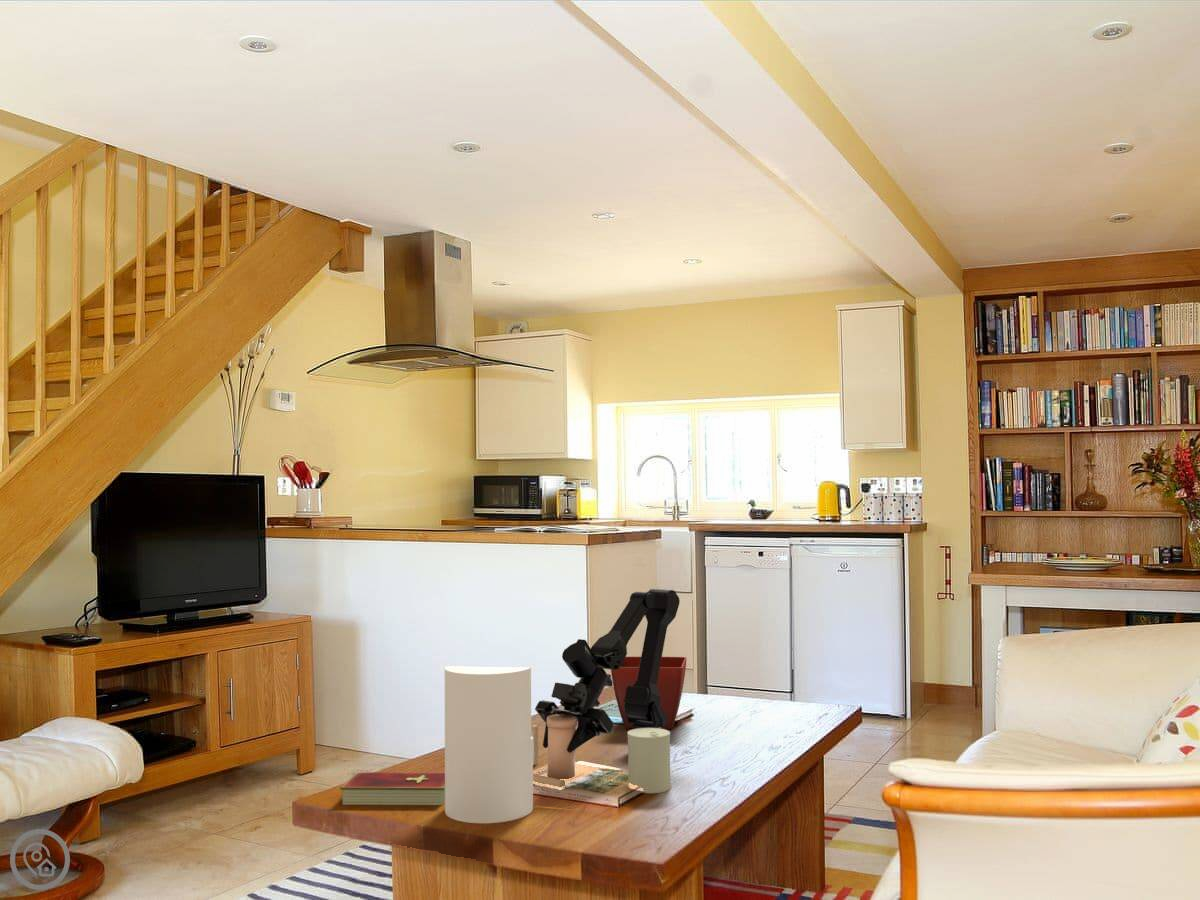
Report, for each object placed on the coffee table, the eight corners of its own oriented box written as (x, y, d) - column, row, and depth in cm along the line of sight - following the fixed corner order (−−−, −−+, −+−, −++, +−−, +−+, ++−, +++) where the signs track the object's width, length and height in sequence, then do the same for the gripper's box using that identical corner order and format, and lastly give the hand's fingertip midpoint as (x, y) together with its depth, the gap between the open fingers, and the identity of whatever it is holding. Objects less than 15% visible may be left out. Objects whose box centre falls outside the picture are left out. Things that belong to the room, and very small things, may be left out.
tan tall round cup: (580, 774, 229) (580, 715, 229) (570, 783, 223) (571, 722, 223) (551, 772, 231) (552, 713, 231) (541, 780, 225) (542, 720, 225)
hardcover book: (356, 790, 222) (356, 770, 222) (454, 791, 221) (454, 770, 221) (340, 807, 210) (340, 786, 210) (443, 808, 209) (443, 786, 209)
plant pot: (619, 716, 292) (618, 655, 292) (687, 717, 289) (686, 656, 290) (610, 731, 273) (609, 666, 273) (683, 733, 270) (682, 667, 271)
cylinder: (521, 825, 196) (520, 675, 197) (433, 821, 199) (432, 673, 200) (541, 798, 213) (540, 660, 214) (459, 795, 216) (459, 659, 217)
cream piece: (557, 757, 246) (557, 719, 246) (621, 770, 234) (621, 729, 235) (494, 777, 229) (494, 736, 229) (560, 792, 217) (559, 748, 218)
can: (641, 796, 214) (640, 737, 215) (619, 785, 222) (619, 728, 223) (679, 789, 218) (678, 732, 219) (657, 779, 227) (656, 723, 227)
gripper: (540, 664, 237) (506, 721, 228) (604, 672, 225) (572, 733, 216) (562, 694, 243) (530, 751, 233) (626, 703, 231) (596, 764, 222)
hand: (556, 749), depth 226 cm, fingers closed on tan tall round cup, 7 cm apart
